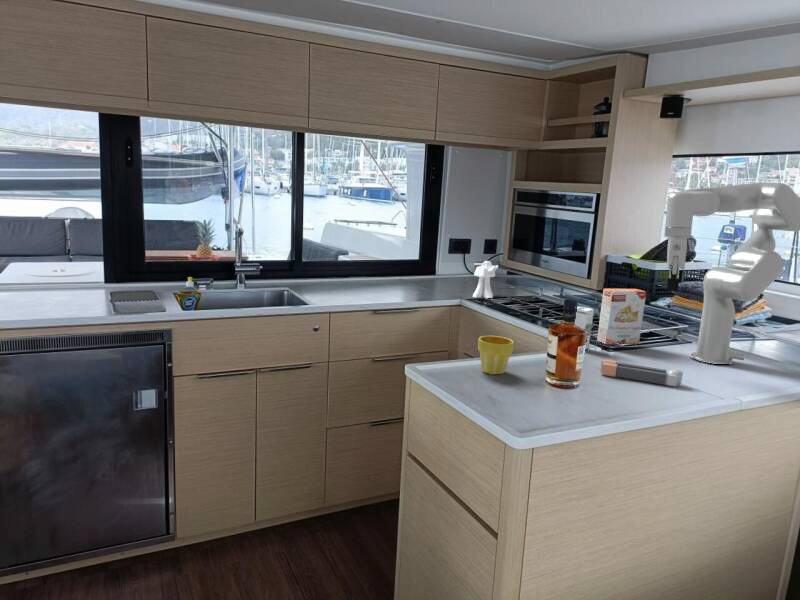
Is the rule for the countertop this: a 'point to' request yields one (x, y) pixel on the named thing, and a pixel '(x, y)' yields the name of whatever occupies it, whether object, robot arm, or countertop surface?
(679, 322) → the countertop surface
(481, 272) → the white mech figurine
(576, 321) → the syrup box
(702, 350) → the robot arm
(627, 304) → the cracker box
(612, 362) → the tongs open arm
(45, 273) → the countertop surface
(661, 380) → the tongs frame
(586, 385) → the countertop surface
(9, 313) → the countertop surface
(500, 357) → the plant pot
